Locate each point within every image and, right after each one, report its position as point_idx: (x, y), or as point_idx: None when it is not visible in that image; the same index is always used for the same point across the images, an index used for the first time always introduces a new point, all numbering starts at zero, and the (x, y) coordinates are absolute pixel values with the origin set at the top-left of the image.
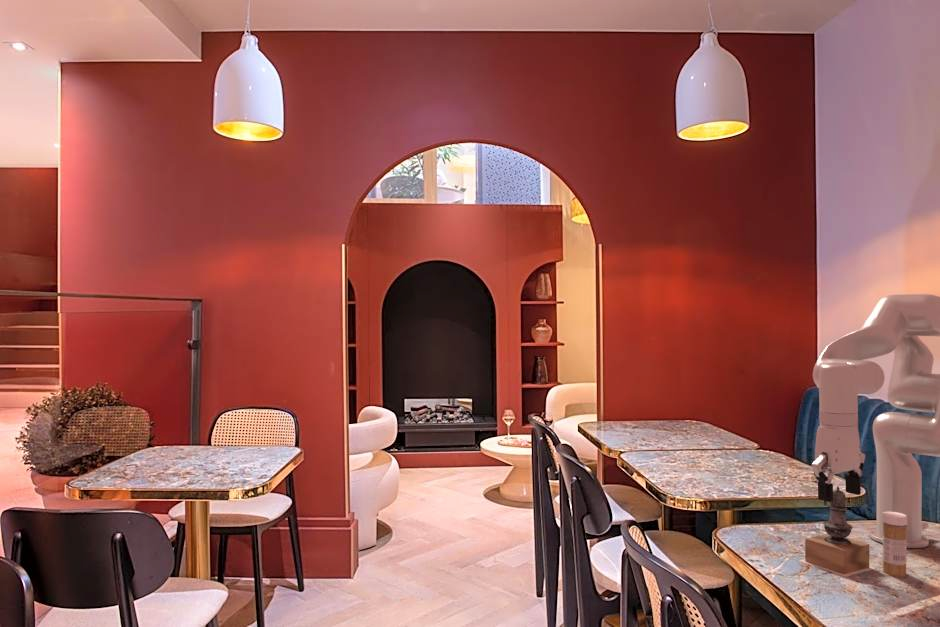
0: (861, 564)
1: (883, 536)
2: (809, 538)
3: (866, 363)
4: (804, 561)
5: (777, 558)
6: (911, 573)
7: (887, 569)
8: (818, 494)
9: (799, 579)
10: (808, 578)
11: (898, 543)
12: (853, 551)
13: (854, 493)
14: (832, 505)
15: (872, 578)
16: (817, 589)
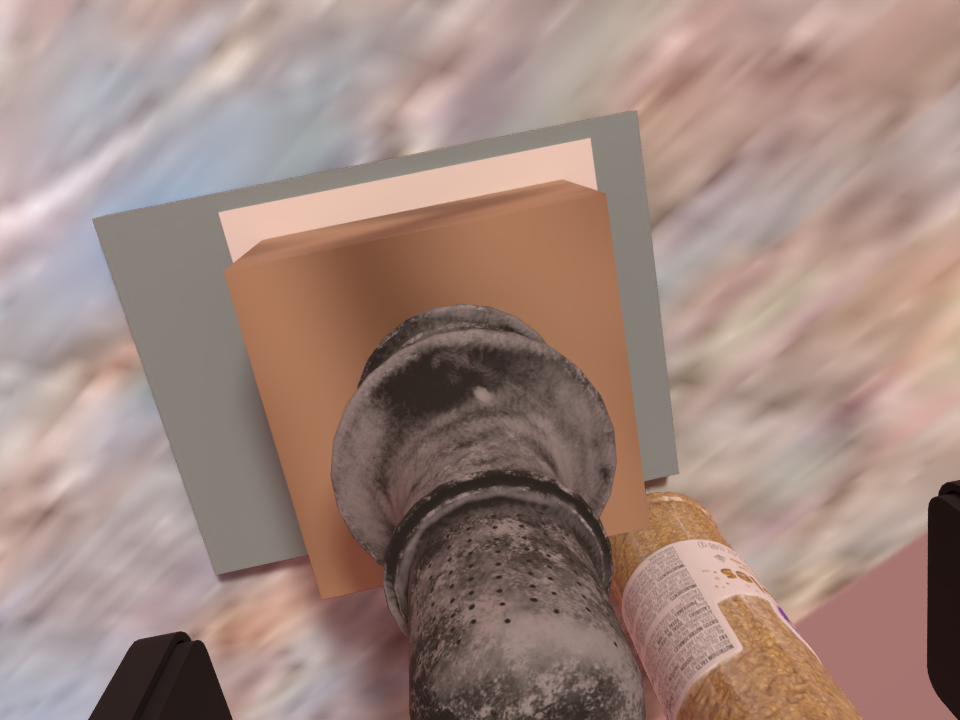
0: None
1: (691, 686)
2: (267, 277)
3: None
4: (251, 244)
5: (155, 38)
6: (802, 518)
7: (612, 577)
8: (108, 699)
9: (41, 440)
10: (115, 440)
11: None
12: None
13: (932, 633)
14: (408, 596)
15: None
16: (49, 589)
